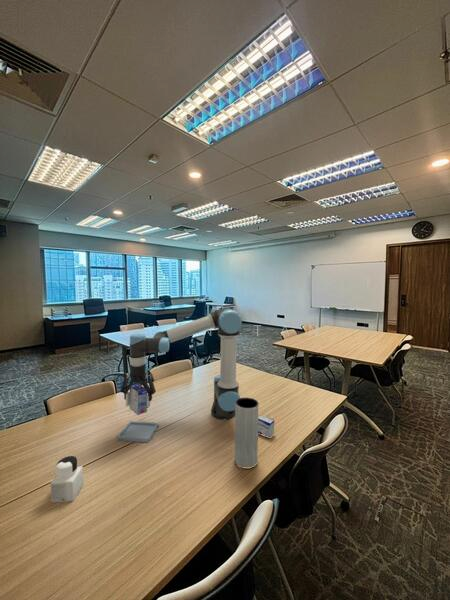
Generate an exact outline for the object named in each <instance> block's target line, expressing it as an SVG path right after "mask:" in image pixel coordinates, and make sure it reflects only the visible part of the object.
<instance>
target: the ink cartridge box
mask: <svg viewBox="0 0 450 600" xmlns="http://www.w3.org/2000/svg"><path fill="white" fill-rule="evenodd" d="M129 392H130V400H129V405H128V407H129V410H130V411H132V412H133V413H134V414H135V415H136V416H139V415H142V414H146V413H148V408H147V395H148V393H147V389H145V388H144V386H143V385H142V384H141V383H138V382H137V384H132V386H131V387H130V389H129Z"/></svg>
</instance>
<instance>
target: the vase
mask: <svg viewBox="0 0 450 600" xmlns="http://www.w3.org/2000/svg"><path fill="white" fill-rule="evenodd" d="M234 417H235V418H234V419H235V421H234V463H235V462H236V463H237V465H239V466H241V467H252V466H254V465H255V464H256V463H257V464H258V447H259V446H258V444H259V434H258V418H259V402H258V400H256V399H255V398H252V397H240V399H238V400H237V401H236V404H235V416H234ZM236 463H235V464H236ZM237 465H236V466H237Z"/></svg>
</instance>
